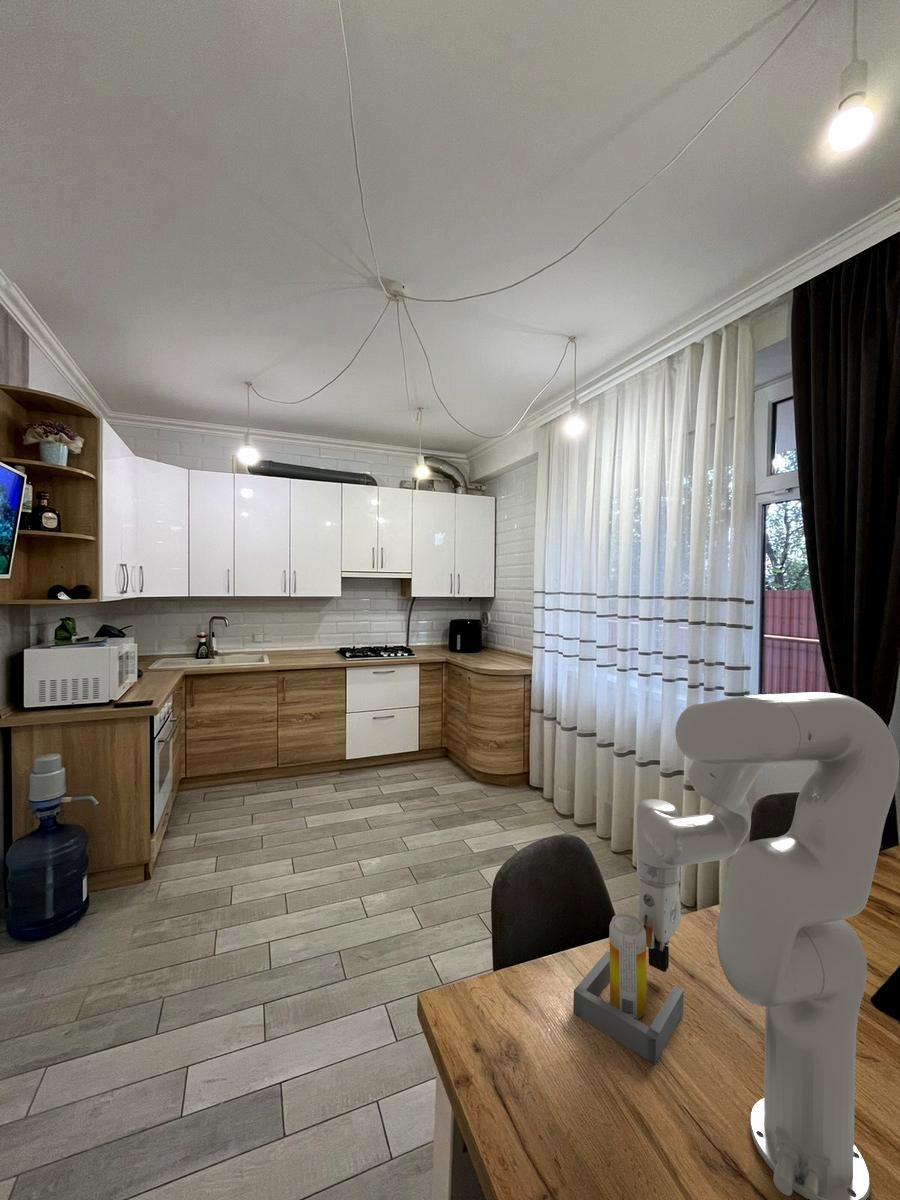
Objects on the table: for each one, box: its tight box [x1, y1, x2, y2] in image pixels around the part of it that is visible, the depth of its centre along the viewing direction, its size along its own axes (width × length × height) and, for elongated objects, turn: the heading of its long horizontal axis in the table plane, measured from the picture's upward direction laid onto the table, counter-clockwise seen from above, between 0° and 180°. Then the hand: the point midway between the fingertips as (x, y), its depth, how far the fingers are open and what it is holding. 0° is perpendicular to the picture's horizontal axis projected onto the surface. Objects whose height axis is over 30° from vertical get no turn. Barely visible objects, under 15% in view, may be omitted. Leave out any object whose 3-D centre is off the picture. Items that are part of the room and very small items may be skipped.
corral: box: [572, 950, 684, 1066], centre depth 86 cm, size 13×14×4 cm
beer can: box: [608, 913, 648, 1020], centre depth 87 cm, size 6×6×15 cm
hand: (658, 966), depth 94 cm, fingers closed
